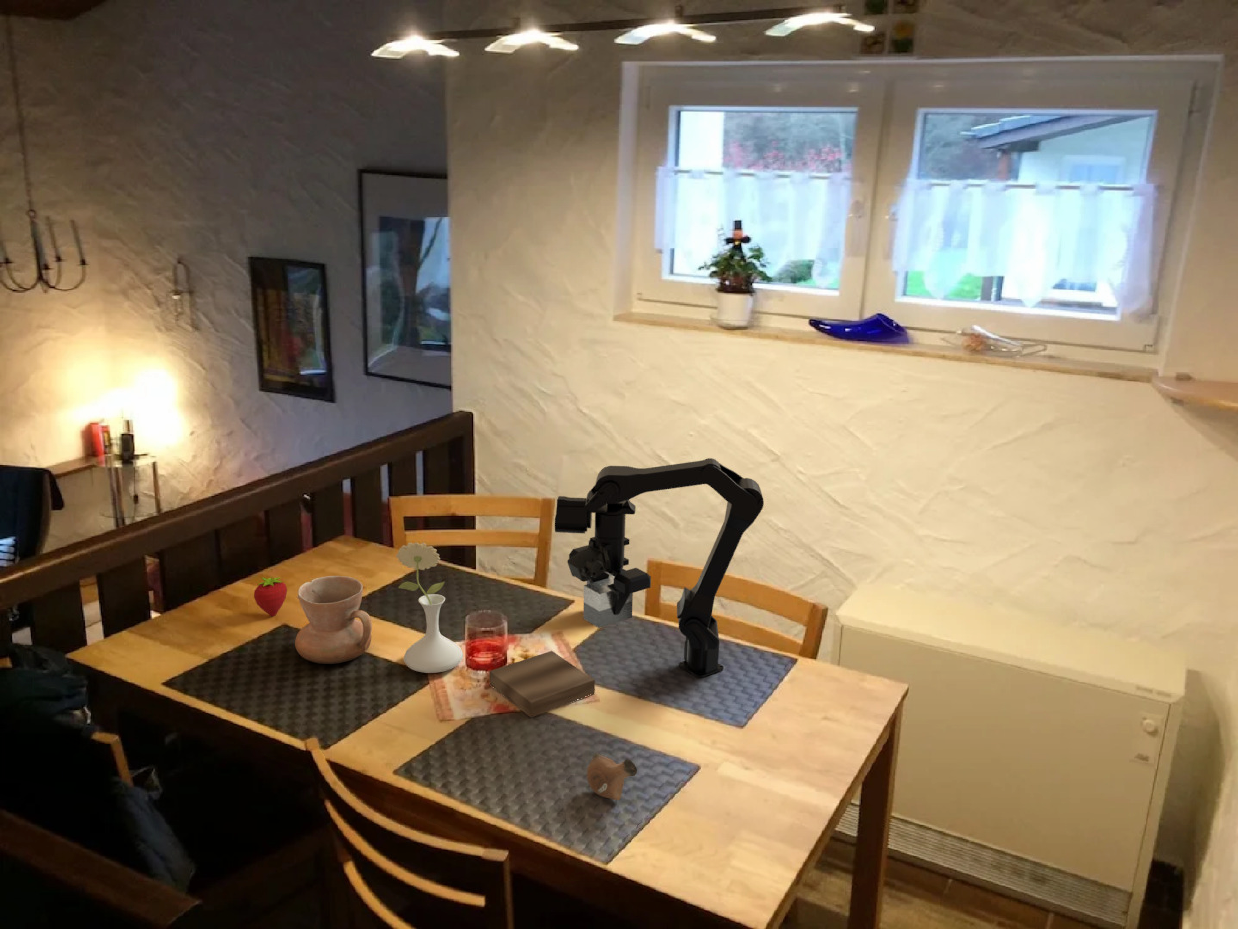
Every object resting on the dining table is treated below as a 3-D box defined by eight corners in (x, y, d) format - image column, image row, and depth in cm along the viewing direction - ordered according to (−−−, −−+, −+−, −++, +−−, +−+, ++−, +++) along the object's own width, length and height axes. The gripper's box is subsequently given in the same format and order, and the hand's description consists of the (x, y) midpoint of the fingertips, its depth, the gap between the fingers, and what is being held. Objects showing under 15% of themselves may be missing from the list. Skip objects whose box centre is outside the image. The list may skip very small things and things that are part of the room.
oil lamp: (642, 802, 159) (643, 756, 157) (628, 815, 156) (629, 769, 154) (594, 782, 164) (594, 738, 161) (579, 795, 160) (580, 750, 158)
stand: (594, 694, 190) (594, 679, 189) (531, 717, 182) (531, 702, 181) (551, 664, 201) (551, 650, 200) (489, 685, 192) (489, 671, 191)
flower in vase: (473, 656, 203) (471, 538, 196) (445, 683, 193) (442, 559, 185) (415, 645, 207) (410, 529, 200) (384, 671, 197) (379, 549, 189)
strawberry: (249, 620, 216) (245, 576, 213) (273, 606, 222) (270, 563, 219) (271, 625, 214) (267, 581, 211) (295, 611, 220) (292, 568, 217)
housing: (616, 608, 203) (617, 575, 201) (632, 617, 199) (633, 584, 197) (583, 618, 198) (583, 585, 196) (599, 628, 194) (599, 594, 192)
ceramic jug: (275, 656, 201) (270, 590, 196) (330, 628, 213) (326, 565, 208) (342, 683, 192) (338, 615, 188) (396, 652, 204) (393, 587, 200)
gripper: (546, 527, 196) (546, 602, 200) (605, 558, 182) (603, 638, 186) (593, 516, 202) (592, 589, 207) (654, 545, 188) (651, 623, 193)
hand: (608, 609), depth 198 cm, fingers closed on housing, 5 cm apart
